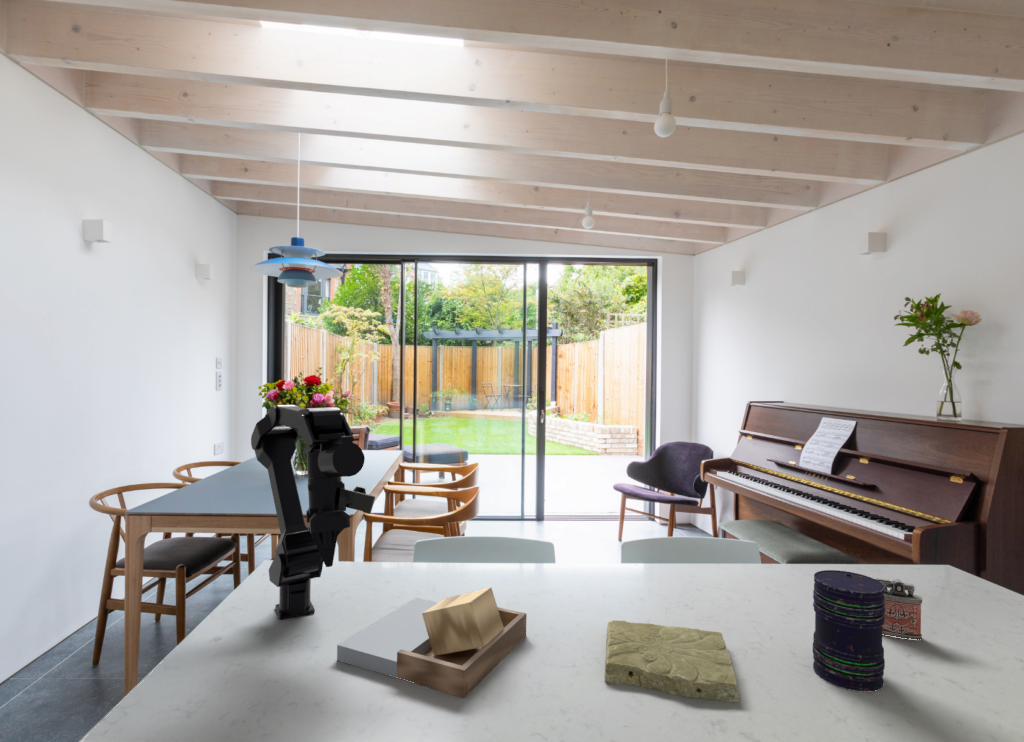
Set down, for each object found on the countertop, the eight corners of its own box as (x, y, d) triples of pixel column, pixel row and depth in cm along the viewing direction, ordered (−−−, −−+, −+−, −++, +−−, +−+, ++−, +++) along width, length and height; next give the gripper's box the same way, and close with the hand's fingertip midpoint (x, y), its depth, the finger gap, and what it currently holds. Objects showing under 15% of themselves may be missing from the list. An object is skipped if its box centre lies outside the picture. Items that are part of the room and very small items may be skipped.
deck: (337, 660, 93) (337, 644, 93) (415, 610, 113) (416, 597, 113) (396, 678, 88) (397, 661, 88) (468, 622, 107) (468, 609, 108)
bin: (396, 678, 88) (397, 652, 88) (468, 622, 107) (468, 601, 108) (464, 698, 82) (464, 670, 82) (526, 635, 102) (526, 613, 102)
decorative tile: (607, 635, 104) (607, 615, 104) (722, 647, 100) (723, 627, 100) (600, 690, 86) (600, 667, 86) (741, 709, 81) (742, 684, 81)
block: (421, 613, 95) (470, 602, 91) (444, 598, 101) (491, 587, 97) (434, 655, 94) (484, 646, 90) (456, 638, 100) (504, 628, 96)
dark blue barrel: (885, 699, 83) (886, 597, 83) (809, 680, 88) (810, 584, 89) (883, 670, 92) (884, 577, 92) (814, 653, 97) (815, 565, 97)
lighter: (919, 635, 104) (920, 580, 104) (924, 643, 101) (924, 587, 101) (868, 626, 108) (868, 573, 108) (870, 634, 105) (871, 579, 105)
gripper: (377, 473, 97) (383, 568, 95) (363, 471, 114) (368, 551, 112) (308, 481, 92) (313, 580, 91) (304, 477, 110) (308, 560, 108)
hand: (329, 566), depth 100 cm, fingers closed
